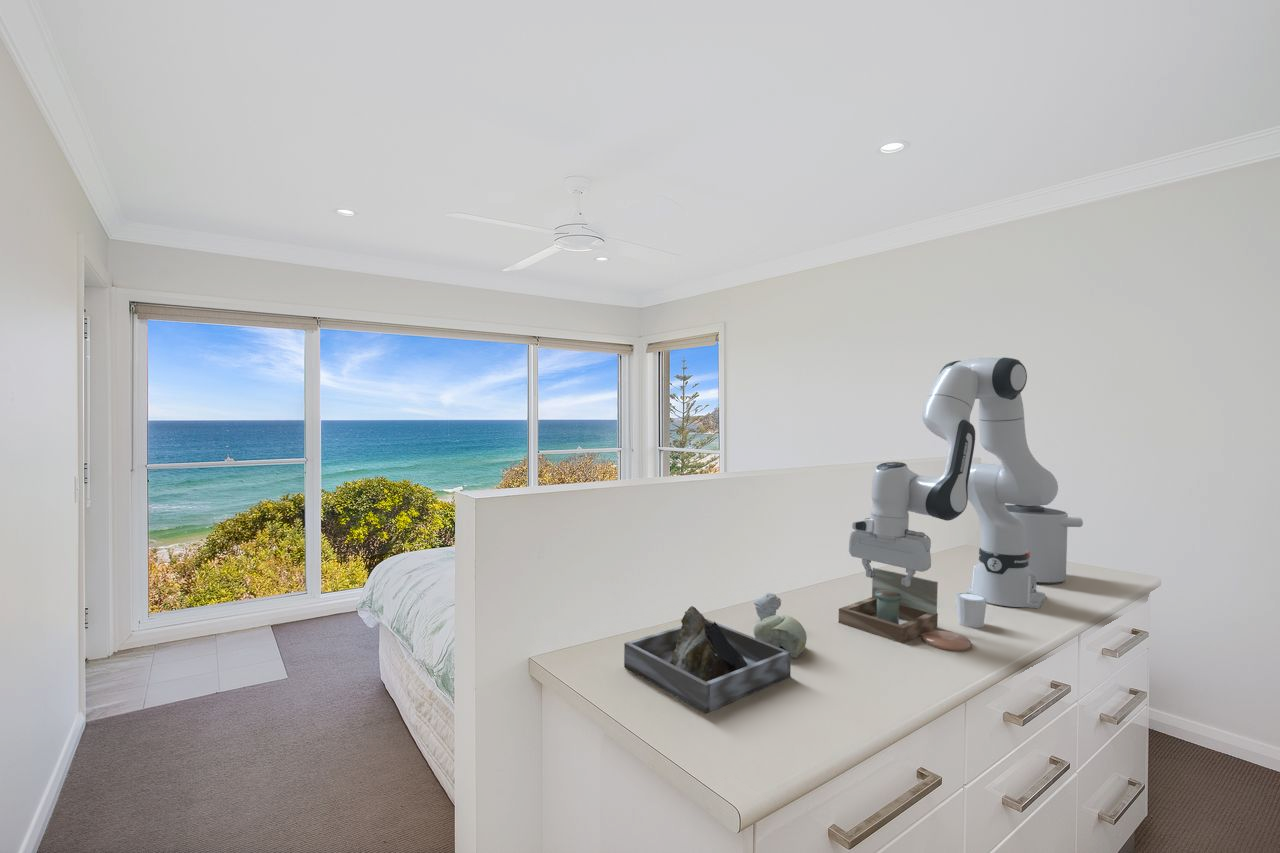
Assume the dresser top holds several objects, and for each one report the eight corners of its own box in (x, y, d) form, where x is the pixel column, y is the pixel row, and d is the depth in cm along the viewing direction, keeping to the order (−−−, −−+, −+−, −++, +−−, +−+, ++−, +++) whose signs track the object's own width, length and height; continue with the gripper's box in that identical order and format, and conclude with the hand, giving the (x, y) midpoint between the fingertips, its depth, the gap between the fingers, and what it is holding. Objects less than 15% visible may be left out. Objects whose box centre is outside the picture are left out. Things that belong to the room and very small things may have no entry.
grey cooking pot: (1043, 568, 206) (1045, 502, 205) (1082, 586, 185) (1085, 512, 184) (978, 566, 208) (980, 500, 207) (1010, 583, 187) (1012, 510, 186)
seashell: (745, 613, 135) (775, 600, 141) (746, 645, 136) (775, 630, 142) (790, 636, 125) (820, 620, 131) (790, 670, 126) (819, 653, 132)
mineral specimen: (768, 645, 125) (739, 619, 113) (744, 719, 119) (710, 698, 107) (713, 626, 133) (681, 599, 122) (688, 693, 128) (651, 672, 116)
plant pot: (882, 618, 153) (883, 588, 153) (905, 625, 149) (905, 593, 149) (870, 623, 150) (870, 592, 150) (892, 630, 145) (893, 598, 145)
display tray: (706, 640, 138) (706, 618, 138) (790, 676, 119) (790, 652, 119) (624, 666, 123) (624, 643, 123) (705, 713, 104) (706, 685, 104)
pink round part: (934, 631, 145) (934, 627, 145) (978, 644, 137) (978, 639, 137) (914, 640, 139) (914, 636, 139) (959, 654, 131) (959, 650, 131)
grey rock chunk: (781, 625, 148) (781, 598, 148) (752, 623, 150) (753, 595, 149) (781, 617, 154) (781, 591, 154) (753, 615, 155) (754, 588, 155)
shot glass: (990, 629, 147) (991, 601, 146) (960, 627, 148) (961, 599, 148) (980, 620, 153) (981, 593, 153) (951, 618, 155) (952, 591, 155)
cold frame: (874, 608, 161) (875, 567, 161) (937, 627, 148) (938, 581, 148) (838, 622, 151) (839, 577, 150) (903, 643, 137) (904, 594, 137)
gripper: (937, 532, 142) (935, 589, 143) (859, 519, 158) (858, 570, 159) (924, 535, 138) (922, 593, 139) (846, 521, 154) (844, 574, 155)
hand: (887, 581), depth 149 cm, fingers open, 8 cm apart
